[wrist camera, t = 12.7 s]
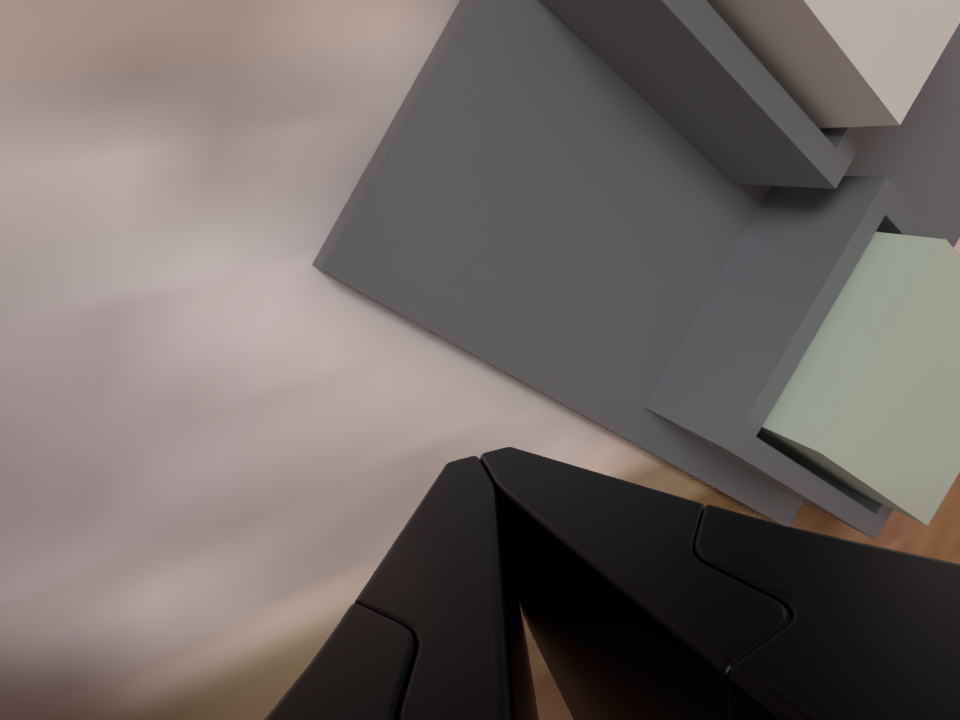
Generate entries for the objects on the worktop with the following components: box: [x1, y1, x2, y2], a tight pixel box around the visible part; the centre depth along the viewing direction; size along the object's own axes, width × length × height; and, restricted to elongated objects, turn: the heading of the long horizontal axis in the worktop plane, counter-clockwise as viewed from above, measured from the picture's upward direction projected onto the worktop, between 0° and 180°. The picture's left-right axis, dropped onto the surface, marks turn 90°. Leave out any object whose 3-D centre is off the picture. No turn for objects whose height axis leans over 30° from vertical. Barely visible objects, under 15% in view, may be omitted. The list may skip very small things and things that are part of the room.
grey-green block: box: [756, 232, 960, 526], centre depth 24 cm, size 7×7×6 cm
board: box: [312, 0, 960, 539], centre depth 22 cm, size 20×23×5 cm
